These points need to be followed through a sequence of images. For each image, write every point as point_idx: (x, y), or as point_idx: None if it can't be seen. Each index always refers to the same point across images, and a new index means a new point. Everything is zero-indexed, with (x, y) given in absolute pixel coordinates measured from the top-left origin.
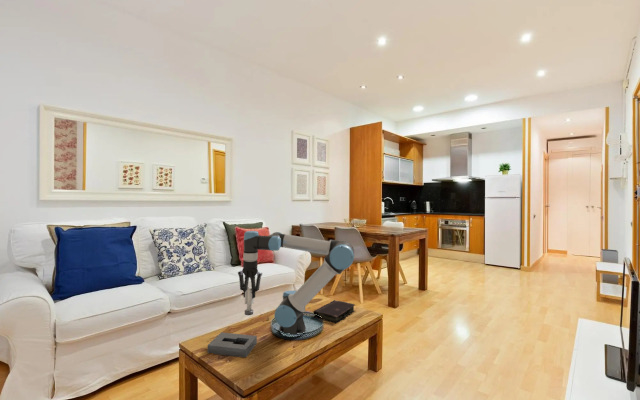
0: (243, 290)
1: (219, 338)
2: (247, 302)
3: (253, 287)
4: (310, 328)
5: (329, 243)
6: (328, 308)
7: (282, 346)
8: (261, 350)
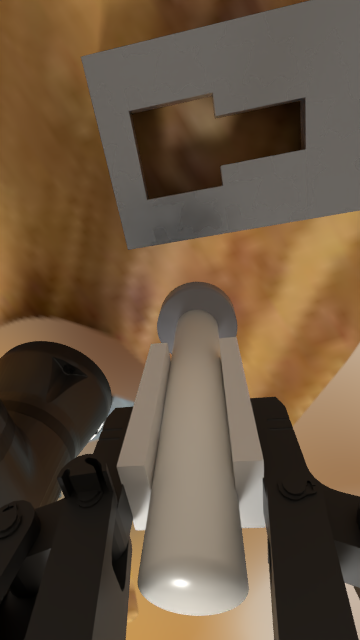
0: (315, 487)
1: (333, 125)
2: (205, 356)
3: (36, 605)
4: None
5: None
6: None
7: (7, 261)
8: (70, 184)
